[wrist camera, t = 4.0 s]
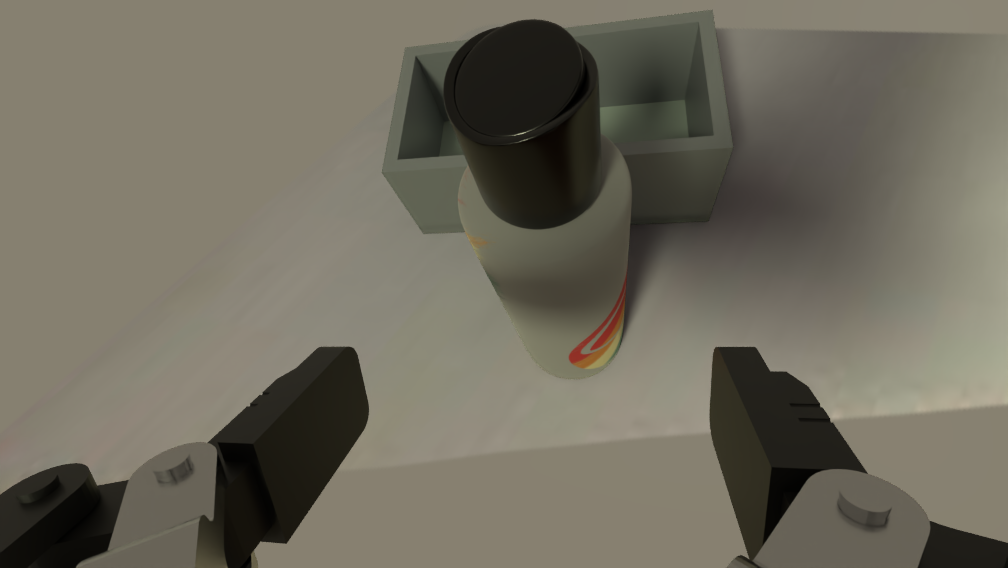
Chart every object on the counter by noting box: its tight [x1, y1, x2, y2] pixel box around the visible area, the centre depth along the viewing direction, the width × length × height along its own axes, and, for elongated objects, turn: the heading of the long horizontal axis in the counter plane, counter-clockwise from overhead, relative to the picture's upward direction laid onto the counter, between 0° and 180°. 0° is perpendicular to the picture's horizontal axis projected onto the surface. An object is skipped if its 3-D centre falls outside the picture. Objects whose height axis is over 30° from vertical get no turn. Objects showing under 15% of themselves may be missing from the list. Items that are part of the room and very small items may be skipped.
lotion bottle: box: [443, 19, 632, 379], centre depth 21 cm, size 6×6×20 cm
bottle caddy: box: [382, 10, 733, 234], centre depth 31 cm, size 18×10×7 cm, turn 86°
